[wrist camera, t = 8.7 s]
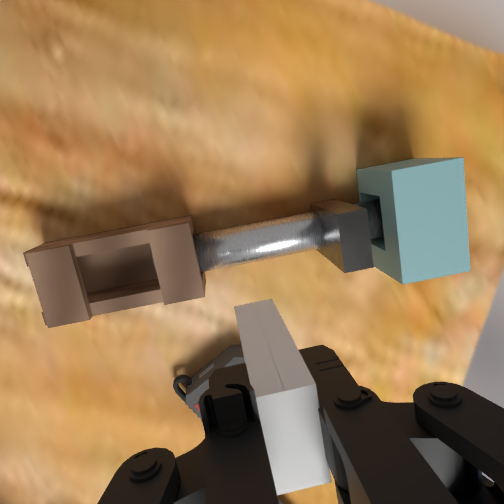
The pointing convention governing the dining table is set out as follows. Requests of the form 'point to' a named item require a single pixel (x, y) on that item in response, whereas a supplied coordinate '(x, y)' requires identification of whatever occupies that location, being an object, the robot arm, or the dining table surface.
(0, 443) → the dining table surface
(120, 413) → the dining table surface
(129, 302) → the sleeve
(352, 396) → the robot arm
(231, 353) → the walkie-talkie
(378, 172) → the socket
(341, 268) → the rod
